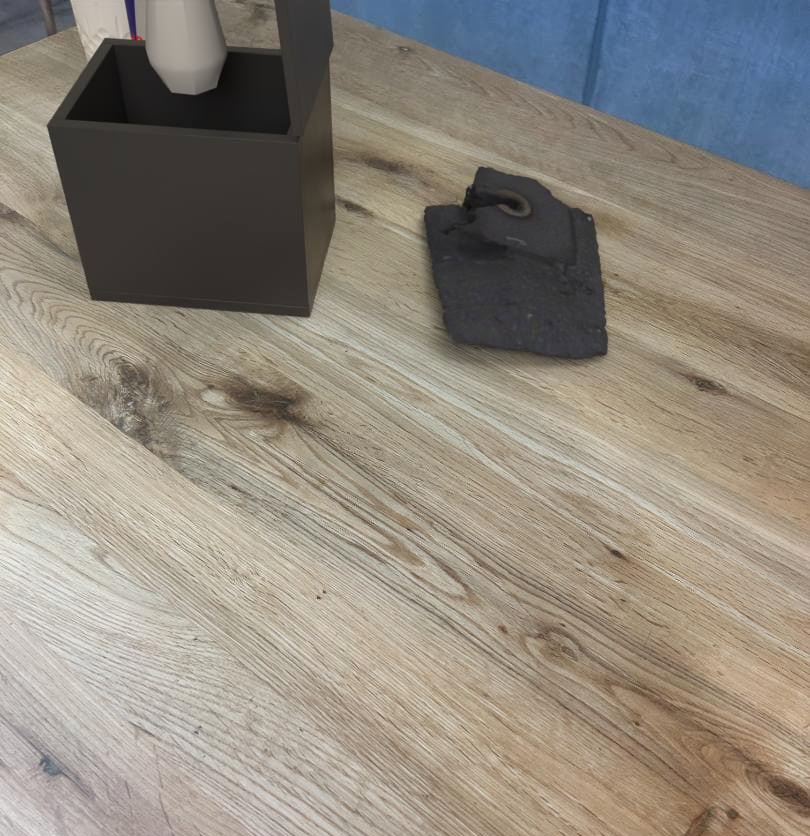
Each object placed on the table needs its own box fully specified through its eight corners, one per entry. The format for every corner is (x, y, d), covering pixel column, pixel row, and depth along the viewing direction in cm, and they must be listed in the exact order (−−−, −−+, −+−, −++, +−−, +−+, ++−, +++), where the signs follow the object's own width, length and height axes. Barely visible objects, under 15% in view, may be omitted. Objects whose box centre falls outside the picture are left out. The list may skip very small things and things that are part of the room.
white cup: (114, 91, 108) (94, -11, 101) (68, 66, 112) (45, -34, 104) (174, 66, 112) (159, -34, 105) (128, 42, 116) (110, -56, 108)
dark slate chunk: (416, 363, 81) (418, 312, 77) (424, 205, 95) (425, 157, 92) (615, 370, 81) (626, 320, 77) (593, 211, 95) (601, 163, 92)
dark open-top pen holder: (91, 300, 86) (46, 125, 74) (137, 206, 95) (104, 37, 83) (309, 317, 85) (298, 142, 73) (335, 220, 94) (329, 51, 82)
